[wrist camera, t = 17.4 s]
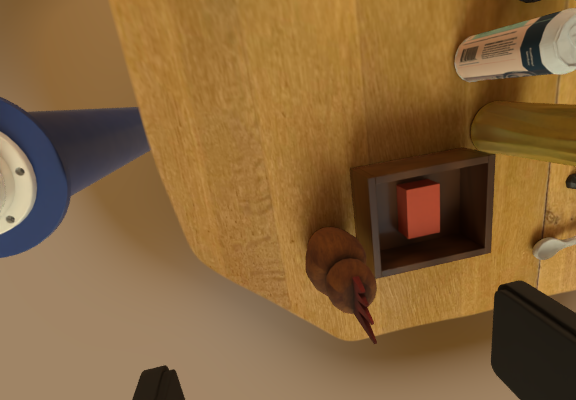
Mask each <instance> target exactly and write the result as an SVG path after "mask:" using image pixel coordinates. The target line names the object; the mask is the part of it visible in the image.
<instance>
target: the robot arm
mask: <svg viewBox="0 0 576 400" xmlns="http://www.w3.org/2000/svg"><path fill="white" fill-rule="evenodd" d="M23 170H24V171H25V172H24V171H23ZM36 194H37V183H36V176H35V173H34V170H33V167H32V165H31V163H30V161H29V160H28V158H27V156H26V155H25V153H24V152H23V151H22V150H21V149H20V147H19V146H18V145H17V144H16V143H15V142H14V141H12V140H11V139H10V138H9V137H8V136H7V135H5V134H3V133H2V132H0V234H2V233H4V232H6V231H8V230H10V229H12V228H14V227H15V226H17V225H18V224H20V223H21V222H22V221H23V220H24V219H25V218H26V217H27V216H28V214H29V213H30V211H31V210H32V208H33V206H34V203H35V200H36ZM492 333H493V334H492V351H491V365H492V368H493V370H494V372H495V373H496V375H497V376H498V377H499V378H500V379H501V380H502V381H503V382H504V383H505V384H506V385H507V386H508V387H509V388H510V390H511V391H512V392H513V393H514V394H515V395H516V396H517V397H518V398H519V399H520V400H576V313H574V312H573V311H571V310H570V309H568V308H567V307H565V306H563V305H562V304H560V303H558V302H557V301H555V300H554V299H552V298H550V297H549V296H547V295H545V294H544V293H542V292H540V291H539V290H537V289H536V288H534V287H532V286H531V285H529V284H527V283H526V282H524V281H515V282H511V283H506V284H502V285H500V286H499V287H498V291H497V292H496V293H495V296H494V315H493V332H492ZM133 400H185V398H184V395H183V392H182V389H181V386H180V382H179V380H178V376H177V373H176V371H175V370H169V369H168V367H167V366H161V367H157V368H153V369H148V370H144V371H143V372H142V374H141V376H140V379H139V382H138V385H137V388H136V391H135V393H134V397H133Z"/></svg>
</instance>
